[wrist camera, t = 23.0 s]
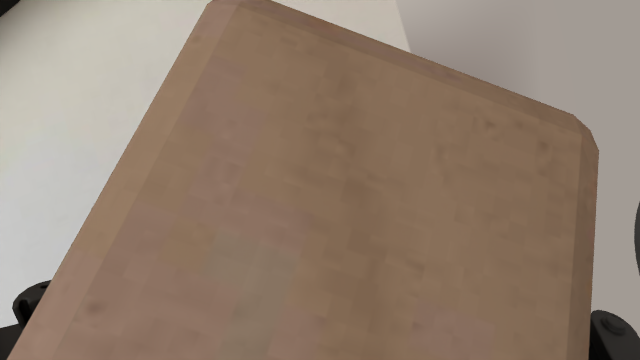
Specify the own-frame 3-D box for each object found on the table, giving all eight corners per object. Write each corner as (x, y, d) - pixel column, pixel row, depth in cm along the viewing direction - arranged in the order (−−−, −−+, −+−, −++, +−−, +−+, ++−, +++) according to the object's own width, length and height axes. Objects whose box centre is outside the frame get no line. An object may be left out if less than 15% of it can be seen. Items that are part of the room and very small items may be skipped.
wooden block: (372, 235, 27) (623, 112, 8) (335, 373, 24) (608, 718, 5) (250, 192, 26) (211, -44, 8) (195, 326, 23) (-115, 502, 4)
